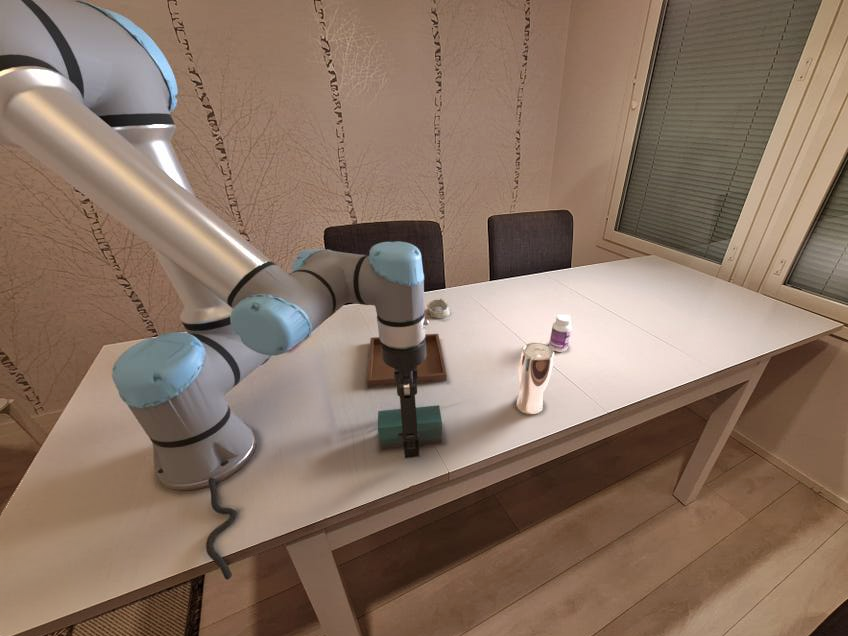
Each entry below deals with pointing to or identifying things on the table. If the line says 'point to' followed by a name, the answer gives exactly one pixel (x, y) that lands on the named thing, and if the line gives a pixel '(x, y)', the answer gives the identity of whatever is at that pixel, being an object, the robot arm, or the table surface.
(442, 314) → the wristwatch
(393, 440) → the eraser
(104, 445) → the table surface
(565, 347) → the pill bottle
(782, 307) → the table surface
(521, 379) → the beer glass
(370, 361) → the tray
